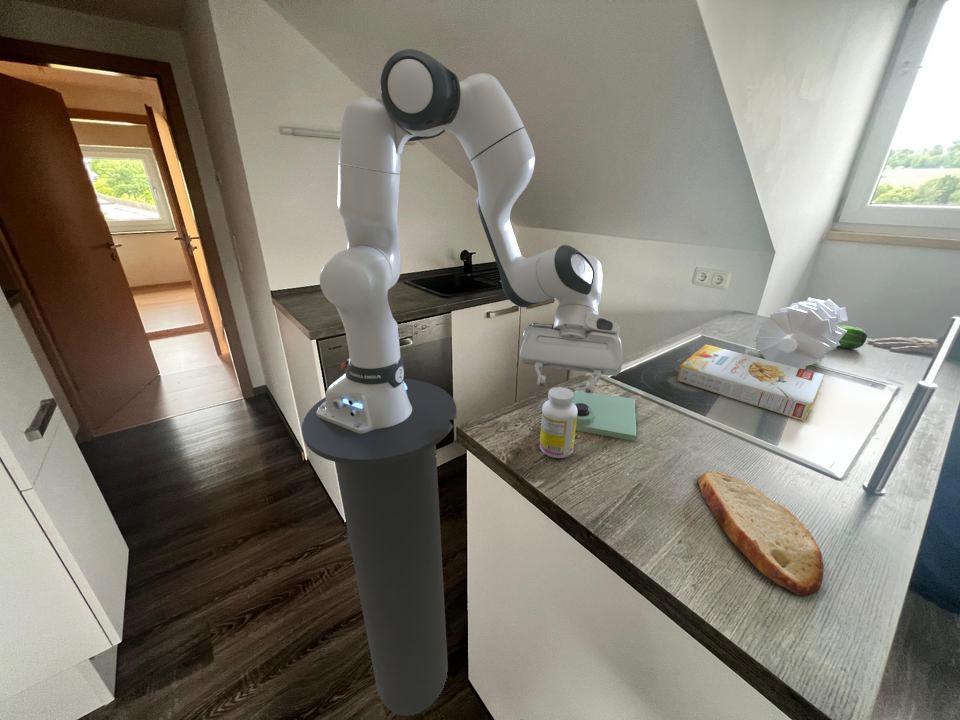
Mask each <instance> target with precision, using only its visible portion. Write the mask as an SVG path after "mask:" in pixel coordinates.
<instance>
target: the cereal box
mask: <svg viewBox="0 0 960 720" xmlns="http://www.w3.org/2000/svg"><path fill="white" fill-rule="evenodd" d="M824 377H825V375H824V373H819V372H817V371H811V370H809V369H808V370H807V369H805V370H804V369H800V368H796V367H792V366H788V365H785V364H781V363H777V362H773V361H769V360H765V358H762V357H761V358H760V357H758V356H757V357H756V356H753V355H749V354H745V353H741V352H738V351H733V350H729V349H726V348H721V347H718V346H714V345H710V344H706V343H705V344H704V345H703V346H701V347H700V348H699V349H698V350H696V351H695V352H694V353H693V354H691V355H690V357H689V358H687V359H686V360H685V361H683V362H682V363H681V364H680V366H679V371H678V375H677V382H679V383H683V384H686V385H690V386H692V387H695V388H699V389H702V390H705V391H708V392H712V393H713V394H714V393H715V394H717V395H720V396H723V397H727V398H729V399H733V400H737V401H739V402H742V403H746V404H749V405H752V406H755V407H758V408H761V409H764V410H768V411H770V412H774V413H777V414H780V415H784V416H786V417H788V418H789V417H790V418H792V419H796V420H799V421H802V422H805V421H806V419H807V417H808V415H809V414H810V411H811V410H812V407H814V404H815V402H816V400H817V397H818V395H819V392H820V389H821V386H822V383H823V380H824Z"/></svg>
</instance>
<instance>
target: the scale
mask: <svg viewBox="0 0 960 720" xmlns="http://www.w3.org/2000/svg"><path fill="white" fill-rule="evenodd" d="M573 393H574V400H573V403H574V404H577V403H583V404H586V405H588V407H589V409H588V415H587V416H577V421H576V430H575V431H578V432H582V433H583V432H584V433H588V434H593V435H594V434H595V435H599V436H604V437H609V438H616V439H620V440H621V439H622V440H627V441H631V442H635V441H636V438H637V429H636V428H637V426H636V424H637V423H636V404H635V403H636V402H635V398H629V397H625V396H624V397H623V396H616V395H611V394H602V393H597V392H593V394H590V393H585V390H578V389H575V390H574V392H573Z"/></svg>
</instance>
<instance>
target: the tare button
mask: <svg viewBox="0 0 960 720" xmlns="http://www.w3.org/2000/svg"><path fill="white" fill-rule="evenodd" d="M575 405H576V407H577V410H578V412H577V416H587V415H588V409H589V407H588V405H586V404H583V403H577V404H575Z"/></svg>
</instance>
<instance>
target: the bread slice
mask: <svg viewBox="0 0 960 720" xmlns="http://www.w3.org/2000/svg"><path fill="white" fill-rule="evenodd" d="M697 485H698V486H699V490H700V492H701V495H702V497H703V498H704V500H705V503H706V504H707V505H708V506H709V508H710V510H711V512H712V513H713V516H714V517H715V519H716V520H717V522H718V524H719V525H720V527H721V528H722V530H723V531H724V533H725V534H726V535H727V537H728V538H729V540H730V541H731V543H733V544H734V546H735V547H737V549H739V550H740V552H741V553H742V554H743V555H744V556H745V557H746V559H747V560H748V561H749V562H750V563H751V564H752V565H753V567H755V568H756V569H757V570H758V571H759V572H760V573H761V574H763V575H764V576H766V578H768V579H769V580H770V581H772V582H773V583H775V584H776V585H778V586H780V587H782V588H785V589H786V590H788V591H790V592H791V593H793V594H794V595H796V596H801V597H802V596H807V595H809V594H812V593H815V592H818V591H819V590H820V588H821V587H822V584H823V583H822V582H823V579H824V568H825V567H824V566H825V565H824V559H823V554H822V552H821V549H820V547H819V545H818V543H817V541H816V539H815V538H814V537H813V535H812V533H811V532H810V531H809V529H807V528H806V526H805V525H804V523H803V522H801V521H800V520H799V519H798V518H797V517H796V516H795V515H794V514H793V513H792V512H791V511H790V510H788V509H787V508H786V507H784V506H783V505H781V504H779V503H777V502H776V501H774V500H773V499H772V498H770V497H768V496H767V494H765V493H764V492H762V491H760V490H759V489H757V488H755V486H752V485H751V484H749V483H746V482H745V481H742V480H740V479H739V478H737V477H733V476H731V475H728V474H724V473H721V472H714V471H706V472H705V473H703V475H701V476H700V477H699V478H698V479H697Z"/></svg>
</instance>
